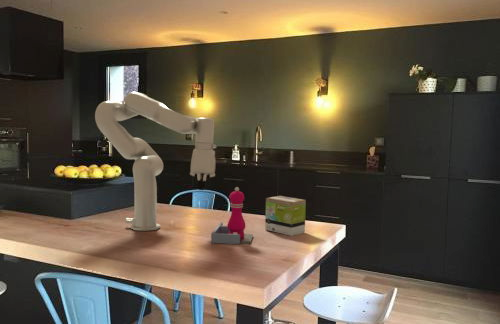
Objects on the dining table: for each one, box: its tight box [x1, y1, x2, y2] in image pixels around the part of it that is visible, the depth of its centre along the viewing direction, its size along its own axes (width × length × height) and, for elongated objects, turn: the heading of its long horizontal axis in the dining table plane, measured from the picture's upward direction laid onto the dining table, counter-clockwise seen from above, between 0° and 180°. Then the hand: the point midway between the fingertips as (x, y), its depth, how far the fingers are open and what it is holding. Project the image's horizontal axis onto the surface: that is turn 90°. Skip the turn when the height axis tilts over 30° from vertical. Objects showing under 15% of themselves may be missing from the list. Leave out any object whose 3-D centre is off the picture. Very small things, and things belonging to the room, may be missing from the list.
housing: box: [210, 221, 245, 245], centre depth 183 cm, size 11×23×4 cm, turn 175°
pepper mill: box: [226, 186, 246, 238], centre depth 178 cm, size 7×7×20 cm
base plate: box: [224, 232, 254, 245], centre depth 179 cm, size 12×12×4 cm
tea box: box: [264, 195, 307, 237], centre depth 195 cm, size 15×10×15 cm
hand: (201, 189), depth 192 cm, fingers closed
